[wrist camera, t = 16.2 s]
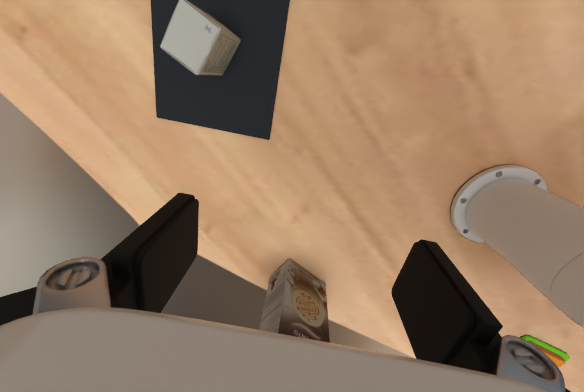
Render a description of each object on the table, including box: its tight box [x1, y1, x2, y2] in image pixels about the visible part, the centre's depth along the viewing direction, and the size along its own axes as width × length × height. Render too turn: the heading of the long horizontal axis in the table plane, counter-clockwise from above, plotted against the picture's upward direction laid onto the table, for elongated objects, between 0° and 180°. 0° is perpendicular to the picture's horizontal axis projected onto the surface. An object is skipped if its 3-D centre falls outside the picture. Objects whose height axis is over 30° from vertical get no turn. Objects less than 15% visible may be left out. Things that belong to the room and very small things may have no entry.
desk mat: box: [151, 0, 290, 140], centre depth 30 cm, size 16×20×1 cm
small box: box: [160, 0, 241, 76], centre depth 27 cm, size 5×4×8 cm
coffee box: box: [259, 259, 330, 343], centre depth 39 cm, size 9×6×16 cm
